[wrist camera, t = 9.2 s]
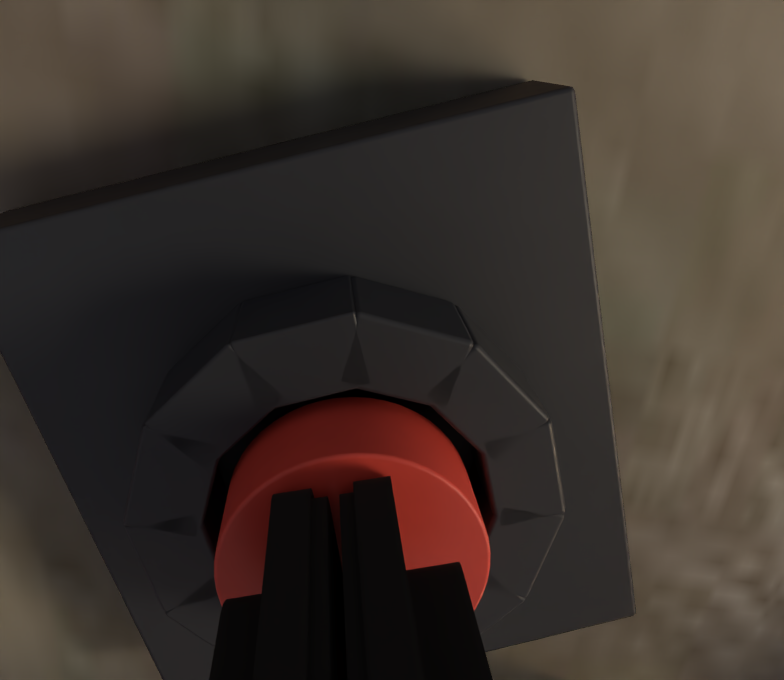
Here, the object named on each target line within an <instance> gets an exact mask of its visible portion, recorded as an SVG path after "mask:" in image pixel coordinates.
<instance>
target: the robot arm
mask: <svg viewBox="0 0 784 680" xmlns="http://www.w3.org/2000/svg"><path fill="white" fill-rule="evenodd" d="M339 503H340V525H341V548H342V567H341V562H340V556H339V551H338V546H337V540H336V535H335V530H334V524H333V519H332V514H331V508H330V503H329V499H328V496H325V497H319V498H314V494H313V491H312V489H311V488H309V489H303V490H296V491H290V492H283V493H277V494H273V495H272V499H271V507H270V517H269V527H268V536H267V546H266V555H265V565H264V575H263V584H262V594H256V595H250V596H244V597H237V598H231V599H226V600H225V602H224V603H223V605H222V609H221V613H220V619H219V625H218V631H217V636H216V642H215V648H214V654H213V660H212V665H211V671H210V677H209V680H493V679H492V675H491V672H490V668H489V664H488V661H487V657H486V653H485V650H484V646H483V642H482V639H481V635H480V631H479V628H478V624H477V620H476V617H475V613H474V609H473V606H472V602H471V598H470V595H469V591H468V587H467V584H466V580H465V576H464V573H463V569H462V566H461V564H460V562H454V563H448V564H441V565H435V566H429V567H423V568H417V569H411V570H406V567H405V561H404V555H403V549H402V543H401V537H400V531H399V524H398V518H397V512H396V506H395V500H394V494H393V488H392V482H391V476H386V477H379V478H373V479H367V480H360V481H354V482H353V492H351V493H344V494H340V495H339ZM342 570H343V572H342Z"/></svg>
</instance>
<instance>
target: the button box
mask: <svg viewBox="0 0 784 680" xmlns="http://www.w3.org/2000/svg"><path fill="white" fill-rule="evenodd" d="M0 352H1V354H2V356H3V358H4V360H5V362H6V364H7V366H8V368H9V370H10V372H11V374H12V376H13V378H14V380H15V382H16V384H17V386H18V388H19V390H20V392H21V394H22V396H23V398H24V401H25V403H26V405H27V407H28V409H29V411H30V413H31V415H32V417H33V419H34V421H35V423H36V425H37V427H38V429H39V431H40V433H41V435H42V437H43V439H44V441H45V443H46V445H47V447H48V449H49V451H50V453H51V455H52V457H53V459H54V461H55V463H56V465H57V467H58V469H59V471H60V473H61V475H62V477H63V479H64V481H65V483H66V485H67V487H68V489H69V491H70V493H71V495H72V497H73V499H74V501H75V503H76V505H77V507H78V509H79V511H80V513H81V516H82V518H83V520H84V522H85V524H86V526H87V528H88V530H89V532H90V534H91V536H92V538H93V540H94V542H95V544H96V546H97V548H98V550H99V552H100V554H101V556H102V558H103V560H104V562H105V564H106V566H107V568H108V570H109V572H110V574H111V576H112V578H113V580H114V582H115V584H116V586H117V588H118V590H119V592H120V594H121V596H122V598H123V600H124V602H125V604H126V606H127V608H128V610H129V612H130V614H131V616H132V618H133V620H134V622H135V624H136V626H137V628H138V630H139V633H140V635H141V637H142V639H143V641H144V643H145V645H146V647H147V649H148V651H149V653H150V655H151V657H152V659H153V661H154V663H155V665H156V667H157V669H158V671H159V673H160V675H161V677H162V679H163V680H209V677H210V671H211V665H212V660H213V654H214V648H215V642H216V636H217V631H218V625H219V619H220V613H221V609H222V606H221V603H220V600H219V597H218V594H217V591H216V586H215V580H214V558H215V552H216V547H217V542H218V537H219V532H220V528H221V523H222V518H223V513H224V509H225V504H226V499H227V494H228V490H229V485H230V480H231V477H232V475H233V472H234V469H235V466H236V465H237V463H238V461H239V459H240V457H241V455H242V453H243V452H244V451H245V449H246V448H247V447H248V445H249V444H250V442H251V441H252V440H253V439H254V438H255V437H256V436H257V435H258V434H259V433H260V432H261V431H262V430H264V429H265V428H266V427H267V426H269V425H270V424H271V423H272V422H274V421H275V420H277V419H279V418H280V417H282V416H284V415H285V414H287V413H289V412H291V411H293V410H295V409H297V408H300V407H302V406H305V405H308V404H311V403H314V402H317V401H322V400H327V399H332V398H342V397H366V398H374V399H380V400H385V401H389V402H392V403H395V404H399V405H401V406H404V407H406V408H408V409H411V410H413V411H415V412H417V413H418V414H420V415H422V416H423V417H425V418H427V419H428V420H430V421H431V422H432V423H433V424H435V425H436V426H437V427H438V428H440V429H441V430H442V432H443V433H444V434H445V435H446V436H447V437H448V438H449V439H450V440H451V442H452V443H453V445H454V446H455V448H456V449H457V451H458V452H459V454H460V457H461V459H462V461H463V463H464V465H465V468H466V471H467V474H468V477H469V480H470V483H471V486H472V489H473V492H474V495H475V498H476V501H477V504H478V507H479V510H480V512H481V515H482V518H483V521H484V524H485V528H486V531H487V534H488V537H489V544H490V552H491V554H490V570H489V575H488V580H487V584H486V587H485V589H484V592H483V595H482V597H481V599H480V601H479V603H478V605H477V607H476V609H475V610H474V613H475V617H476V620H477V624H478V628H479V631H480V635H481V639H482V642H483V646H484V650H485V652H488V651H492V650H496V649H500V648H504V647H508V646H513V645H517V644H521V643H525V642H529V641H533V640H537V639H541V638H545V637H549V636H553V635H557V634H561V633H565V632H570V631H574V630H578V629H582V628H586V627H590V626H594V625H598V624H602V623H606V622H610V621H614V620H618V619H622V618H627V617H631V616H634V615H635V614H636V607H635V598H634V590H633V581H632V573H631V564H630V556H629V547H628V539H627V530H626V522H625V513H624V505H623V496H622V488H621V479H620V471H619V462H618V454H617V445H616V436H615V428H614V419H613V411H612V402H611V394H610V385H609V377H608V368H607V360H606V351H605V343H604V334H603V326H602V317H601V309H600V300H599V292H598V283H597V275H596V266H595V258H594V249H593V241H592V232H591V223H590V215H589V206H588V198H587V189H586V181H585V172H584V164H583V155H582V147H581V138H580V130H579V121H578V113H577V104H576V96H575V90H574V89H573V87H570V86H564V85H558V84H552V83H545V82H539V81H533V80H532V81H528V82H524V83H520V84H516V85H512V86H508V87H504V88H500V89H496V90H492V91H488V92H484V93H480V94H476V95H472V96H468V97H464V98H460V99H456V100H452V101H448V102H444V103H440V104H435V105H431V106H427V107H423V108H419V109H415V110H411V111H407V112H403V113H399V114H395V115H391V116H387V117H383V118H379V119H375V120H371V121H367V122H363V123H359V124H355V125H351V126H347V127H343V128H339V129H335V130H331V131H327V132H323V133H319V134H315V135H311V136H307V137H303V138H299V139H295V140H291V141H287V142H283V143H279V144H275V145H271V146H267V147H263V148H258V149H254V150H250V151H246V152H242V153H238V154H234V155H230V156H226V157H222V158H218V159H214V160H210V161H206V162H202V163H198V164H194V165H190V166H186V167H182V168H178V169H174V170H170V171H166V172H162V173H158V174H154V175H150V176H146V177H142V178H138V179H134V180H130V181H126V182H122V183H118V184H114V185H110V186H106V187H102V188H98V189H94V190H90V191H86V192H82V193H77V194H73V195H69V196H65V197H61V198H57V199H53V200H49V201H45V202H41V203H37V204H33V205H29V206H25V207H21V208H17V209H13V210H9V211H5V212H3V213H1V214H0Z"/></svg>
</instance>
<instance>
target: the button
mask: <svg viewBox="0 0 784 680" xmlns="http://www.w3.org/2000/svg"><path fill="white" fill-rule="evenodd" d="M386 476H391V482H392V488H393V494H394V500H395V506H396V512H397V518H398V524H399V531H400V537H401V543H402V549H403V555H404V561H405V567H406V570H411V569H417V568H423V567H429V566H435V565H441V564H448V563H454V562H460V564H461V566H462V569H463V573H464V576H465V580H466V584H467V587H468V591H469V595H470V598H471V602H472V606H473V609H474V610H475V609H476V607H477V605H478V603H479V601H480V599H481V597H482V595H483V592H484V589H485V587H486V584H487V580H488V575H489V570H490V554H491V552H490V544H489V537H488V534H487V531H486V528H485V524H484V521H483V518H482V515H481V512H480V510H479V507H478V504H477V501H476V498H475V495H474V492H473V489H472V486H471V483H470V480H469V477H468V474H467V471H466V468H465V465H464V463H463V461H462V459H461V457H460V454H459V452H458V451H457V449H456V448H455V446H454V445H453V443H452V442H451V440H450V439H449V438H448V437H447V436H446V435H445V434H444V433H443V432H442V430H441V429H440V428H438V427H437V426H436V425H435V424H433V423H432V422H431V421H430V420H428V419H427V418H425V417H423V416H422V415H420V414H418V413H417V412H415V411H413V410H411V409H408V408H406V407H404V406H401V405H399V404H395V403H392V402H389V401H385V400H380V399H374V398H366V397H342V398H332V399H327V400H322V401H317V402H314V403H311V404H308V405H305V406H302V407H300V408H297V409H295V410H293V411H291V412H289V413H287V414H285V415H284V416H282V417H280V418H279V419H277V420H275V421H274V422H272V423H271V424H270V425H269V426H267V427H266V428H265V429H264V430H262V431H261V432H260V433H259V434H258V435H257V436H256V437H255V438H254V439H253V440H252V441H251V442H250V444H249V445H248V447H247V448H246V449H245V451H244V452H243V453H242V455H241V457H240V459H239V461H238V463H237V465H236V466H235V469H234V472H233V475H232V477H231V480H230V485H229V490H228V494H227V499H226V504H225V509H224V513H223V518H222V523H221V528H220V532H219V537H218V542H217V547H216V552H215V558H214V580H215V586H216V591H217V594H218V597H219V600H220V603H221V606H222V605H223V603H224V602H225V600H226V599H231V598H237V597H244V596H250V595H256V594H262V584H263V575H264V565H265V555H266V546H267V536H268V527H269V517H270V507H271V499H272V495H273V494H277V493H283V492H290V491H296V490H303V489H309V488H311V489H312V491H313V494H314V498H319V497H325V496H328V499H329V503H330V508H331V514H332V519H333V524H334V530H335V535H336V540H337V546H338V551H339V556H340V562H341V567H342V548H341V525H340V503H339V495H340V494H344V493H351V492H353V482H354V481H360V480H367V479H373V478H379V477H386ZM342 572H343V570H342Z"/></svg>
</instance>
